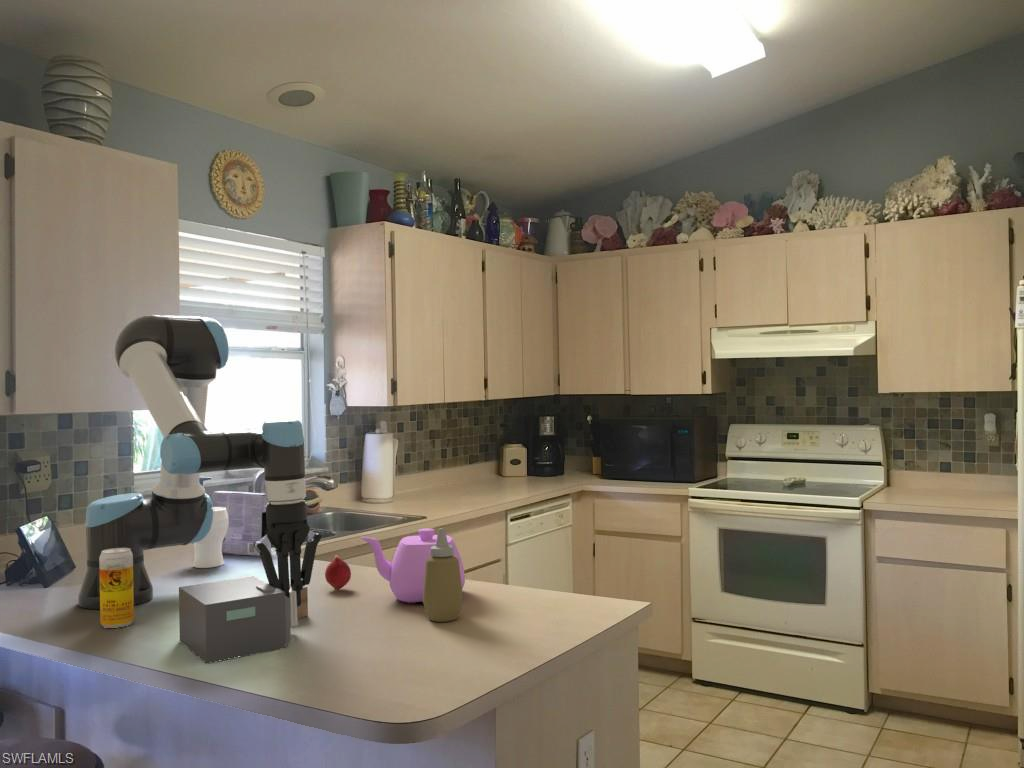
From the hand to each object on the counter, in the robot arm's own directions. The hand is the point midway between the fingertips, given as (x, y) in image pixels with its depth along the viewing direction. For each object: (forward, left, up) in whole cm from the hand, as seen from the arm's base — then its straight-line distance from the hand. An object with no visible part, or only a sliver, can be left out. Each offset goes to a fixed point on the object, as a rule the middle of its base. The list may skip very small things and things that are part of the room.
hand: (291, 624), depth 163 cm
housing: (0, -11, -2) cm, 12 cm away
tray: (0, -10, -1) cm, 10 cm away
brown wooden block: (-12, +5, -2) cm, 13 cm away
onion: (-27, +22, -2) cm, 34 cm away
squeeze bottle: (+10, +28, -2) cm, 29 cm away
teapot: (-8, +34, -2) cm, 34 cm away
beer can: (-28, -25, -2) cm, 38 cm away
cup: (-77, +7, -2) cm, 77 cm away
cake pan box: (-88, +19, -2) cm, 90 cm away
